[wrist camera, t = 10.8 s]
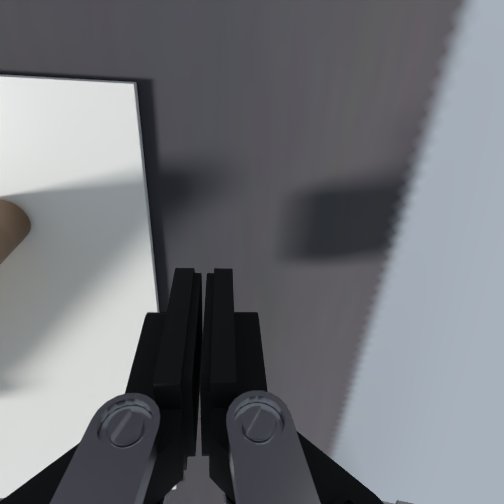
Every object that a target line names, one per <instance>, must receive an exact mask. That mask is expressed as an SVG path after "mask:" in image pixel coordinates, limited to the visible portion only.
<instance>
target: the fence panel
mask: <svg viewBox="0 0 504 504" xmlns="http://www.w3.org/2000/svg"><path fill="white" fill-rule="evenodd" d="M30 229H31V224H30V220H29V218H28V216H27V215H26V213H25V212H24V211H23V210H22V209H21V208H20V207H18V206H17V205H15V204H13V203H11V202H9V201H6V200H0V264H1V263H2V262H3V261H4V260H5V259H6V258H7V257H8V256H9V255H10V254H11V253H12V251H13V250H14V249H15V248H16V247H17V246H18V245H19V244H20V243H21V242H22V241H23V240H24V239H25V237H26V236H27V235H28V234H29V232H30Z"/></svg>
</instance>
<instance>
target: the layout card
mask: <svg viewBox="0 0 504 504" xmlns="http://www.w3.org/2000/svg"><path fill="white" fill-rule="evenodd" d="M0 200H6V201H9V202H11V203H13V204H15V205H17V206H18V207H20V208H21V209H22V210H23V211H24V212H25V213H26V215H27V216H28V218H29V220H30V224H31V229H30V232H29V234H28V235H27V236H26V237H25V239H24V240H23V241H22V242H21V243H20V244H19V245H18V246H17V247H16V248H15V249H14V250H13V251H12V253H11V254H10V255H9V256H8V257H7V258H6V259H5V260H4V261H3V262H2V263H1V264H0V498H6V497H7V496H8V495H10V494H11V493H12V492H14V491H15V490H16V489H18V488H19V487H20V486H22V485H23V484H24V483H26V482H27V481H28V480H30V479H31V478H33V477H34V476H35V475H37V474H38V473H39V472H41V471H42V470H43V469H45V468H46V467H47V466H49V465H50V464H51V463H53V462H54V461H55V460H57V459H58V458H59V457H61V456H62V455H63V454H65V453H66V452H68V451H69V450H70V449H72V448H73V447H74V446H76V445H77V444H78V443H80V441H81V439H82V437H83V435H84V433H85V431H86V429H87V427H88V425H89V423H90V421H91V419H92V418H93V416H94V415H95V413H96V412H97V410H98V409H99V408H100V407H101V406H102V405H103V404H105V403H106V402H107V401H109V400H110V399H112V398H114V397H116V396H119V395H122V394H125V391H126V387H127V383H128V379H129V375H130V372H131V368H132V364H133V360H134V357H135V353H136V349H137V345H138V341H139V338H140V334H141V330H142V326H143V323H144V319H145V316H146V314H147V312H159V302H158V292H157V282H156V272H155V262H154V252H153V242H152V232H151V222H150V212H149V202H148V193H147V183H146V173H145V163H144V153H143V143H142V133H141V123H140V113H139V103H138V93H137V83H136V82H125V81H108V80H90V79H72V78H55V77H37V76H20V75H2V74H0ZM172 489H176V485H175V486H174V487H173V488H172Z"/></svg>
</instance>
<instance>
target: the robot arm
mask: <svg viewBox="0 0 504 504" xmlns="http://www.w3.org/2000/svg"><path fill="white" fill-rule="evenodd" d="M199 393H200V400H201V440H202V456H209V472H210V478H211V479H212V480H213V481H214V482H215V483H216V484H217V485H218V486H219V488H220V489H221V490H222V491H223V496H224V503H225V504H393V503H388V502H384V501H381V500H380V499H379V498H378V497H377V496H376V495H375V494H374V493H373V492H371V491H370V490H369V489H368V488H366V487H365V486H364V485H363V484H362V483H360V482H359V481H358V480H357V479H355V478H354V477H353V476H352V475H350V474H349V473H348V472H347V471H345V470H344V469H343V468H342V467H341V466H339V465H338V464H337V463H336V462H334V461H333V460H332V459H331V458H329V457H328V456H327V455H326V454H324V453H323V452H322V451H321V450H319V449H318V448H317V447H316V446H315V445H313V444H312V443H311V442H310V441H308V440H307V439H306V438H305V437H303V436H302V435H301V434H300V433H298V432H297V431H296V428H295V425H294V422H293V419H292V416H291V413H290V411H289V410H288V408H287V406H286V404H285V403H284V402H283V401H282V400H281V399H280V398H279V397H277V396H275V395H274V394H272V393H269V392H267V384H266V376H265V367H264V359H263V351H262V342H261V334H260V325H259V317H258V313H257V312H234V299H233V272H232V269H214V273H207V281H206V297H205V312H204V328H203V330H202V275H201V273H195V270H194V268H176V269H175V273H174V278H173V283H172V288H171V293H170V298H169V304H168V309H167V312H147V314H146V316H145V319H144V323H143V326H142V330H141V334H140V338H139V341H138V345H137V349H136V353H135V357H134V360H133V364H132V368H131V372H130V375H129V379H128V383H127V387H126V391H125V394H122V395H119V396H116V397H114V398H112V399H110V400H109V401H107V402H106V403H105V404H103V405H102V406H101V407H100V408H99V409H98V410H97V412H96V413H95V415H94V416H93V418H92V419H91V421H90V423H89V425H88V427H87V429H86V431H85V433H84V435H83V437H82V439H81V441H80V443H78V444H77V445H76V446H74V447H73V448H72V449H70V450H69V451H68V452H66V453H65V454H63V455H62V456H61V457H59V458H58V459H57V460H55V461H54V462H53V463H51V464H50V465H49V466H47V467H46V468H45V469H43V470H42V471H41V472H39V473H38V474H37V475H35V476H34V477H33V478H31V479H30V480H28V481H27V482H26V483H24V484H23V485H22V486H20V487H19V488H18V489H16V490H15V491H14V492H12V493H11V494H10V495H8V496H7V497H6V498H4V499H3V500H2V501H0V504H167V503H168V499H169V491H170V490H171V489H172V488H173V487H174V486H175V485H176V484H177V483H178V482H179V481H180V480H181V479H182V478H183V470H186V468H187V457H188V456H195V454H196V440H197V424H198V408H199ZM395 504H412V503H408V502H403V501H397V502H396V503H395Z"/></svg>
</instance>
